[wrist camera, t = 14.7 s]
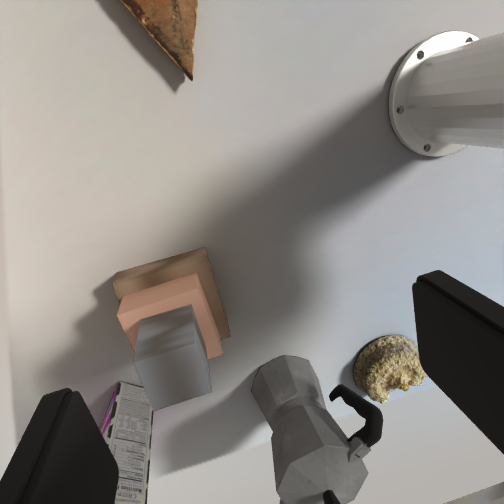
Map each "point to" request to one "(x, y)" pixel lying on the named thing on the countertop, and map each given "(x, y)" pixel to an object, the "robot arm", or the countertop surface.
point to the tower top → (166, 300)
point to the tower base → (172, 270)
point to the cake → (388, 367)
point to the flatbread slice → (169, 27)
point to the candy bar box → (129, 441)
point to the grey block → (172, 358)
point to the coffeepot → (312, 434)
